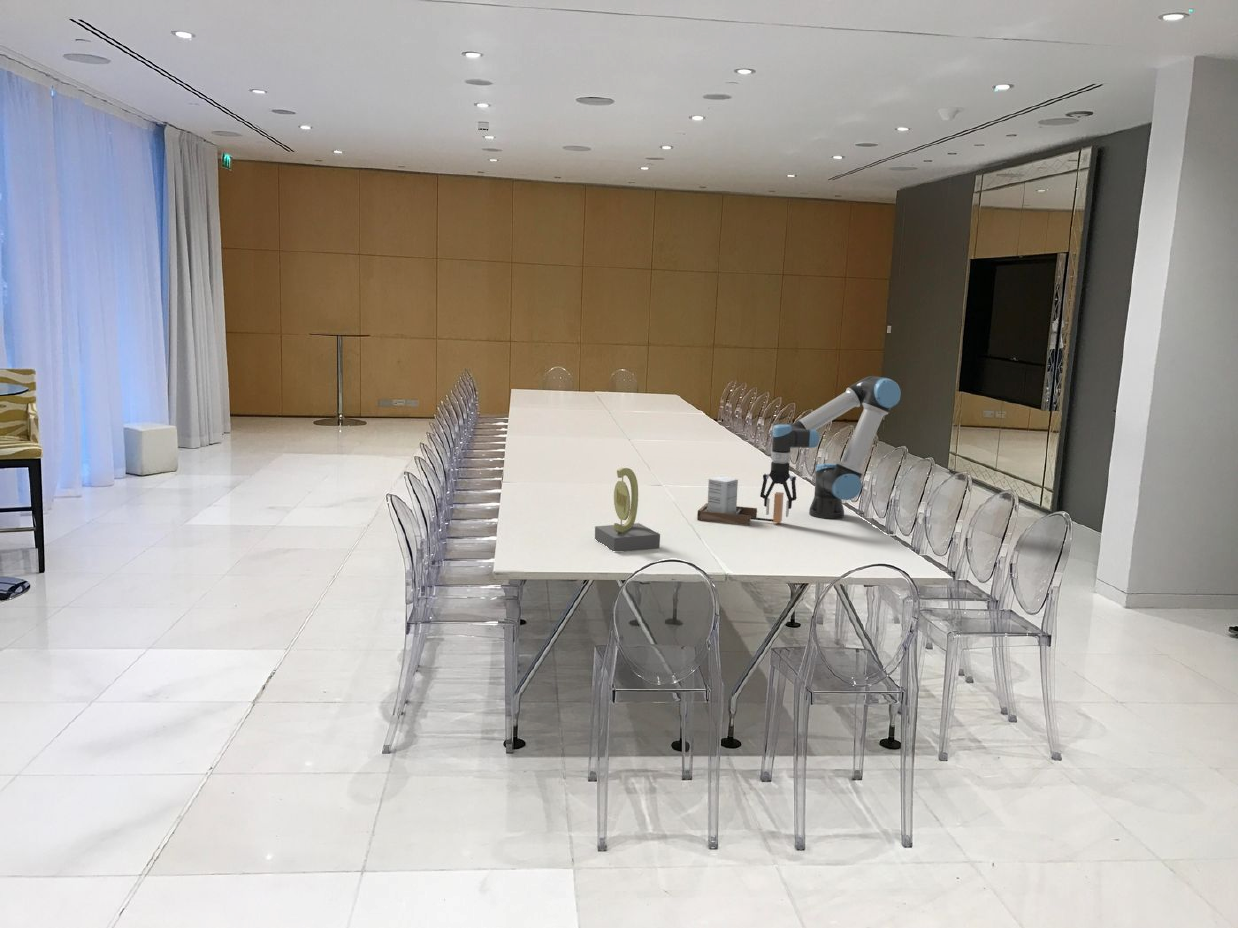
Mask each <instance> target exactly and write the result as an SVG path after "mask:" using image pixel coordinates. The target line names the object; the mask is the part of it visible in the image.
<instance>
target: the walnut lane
mask: <svg viewBox="0 0 1238 928" xmlns="http://www.w3.org/2000/svg"><path fill="white" fill-rule="evenodd" d="M707 506H708V502H707V503H705V504H704V505H702V506H701V507H700V508H699V509H698V510H697V517H696V520H697V521H703V522H713V523H723V524H731V525H742V526H750V525H751V520H752V519H751V517H755V518H758V517H757V515H758V514H757V513H758V508H757V507H751V506H750V507H748V506H738V505H737V506H736V508H740V509H742V515H740V514H730V513H720V512H710V511H704V510H706V509H707Z"/></svg>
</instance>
